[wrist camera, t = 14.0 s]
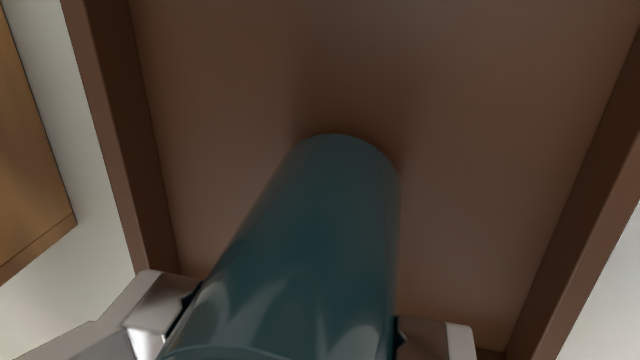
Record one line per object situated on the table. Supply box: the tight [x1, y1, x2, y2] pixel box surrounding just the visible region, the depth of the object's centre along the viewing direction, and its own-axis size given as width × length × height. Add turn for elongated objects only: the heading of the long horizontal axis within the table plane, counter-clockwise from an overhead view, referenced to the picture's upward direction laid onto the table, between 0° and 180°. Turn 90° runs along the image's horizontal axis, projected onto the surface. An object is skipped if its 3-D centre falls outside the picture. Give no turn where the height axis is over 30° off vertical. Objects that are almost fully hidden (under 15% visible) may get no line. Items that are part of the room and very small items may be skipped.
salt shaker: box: [154, 134, 402, 360], centre depth 10 cm, size 4×4×9 cm
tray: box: [60, 0, 640, 360], centre depth 14 cm, size 17×17×3 cm
